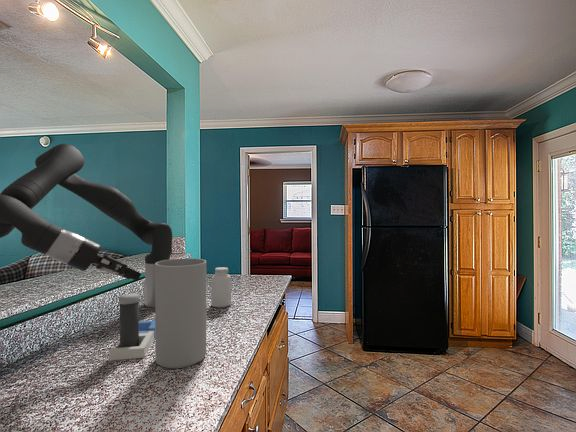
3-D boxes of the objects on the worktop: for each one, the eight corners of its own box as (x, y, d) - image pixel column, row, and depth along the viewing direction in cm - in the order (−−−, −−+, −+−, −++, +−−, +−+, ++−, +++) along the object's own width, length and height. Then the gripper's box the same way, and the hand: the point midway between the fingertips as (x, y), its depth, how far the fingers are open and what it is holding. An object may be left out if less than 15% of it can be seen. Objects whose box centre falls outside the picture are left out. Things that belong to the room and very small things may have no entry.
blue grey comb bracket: (109, 360, 79) (109, 348, 79) (132, 329, 100) (132, 319, 100) (144, 357, 81) (144, 345, 81) (160, 327, 101) (160, 318, 101)
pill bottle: (234, 303, 129) (234, 267, 129) (224, 308, 121) (224, 270, 121) (218, 301, 131) (218, 265, 131) (207, 306, 124) (207, 269, 124)
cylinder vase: (177, 375, 72) (177, 268, 72) (145, 361, 79) (144, 263, 79) (216, 354, 83) (216, 261, 83) (184, 343, 90) (184, 257, 89)
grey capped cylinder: (115, 351, 84) (115, 296, 84) (133, 345, 88) (132, 292, 88) (125, 356, 81) (125, 299, 81) (143, 349, 86) (143, 295, 85)
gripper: (62, 263, 82) (122, 287, 90) (66, 263, 71) (134, 291, 79) (79, 238, 85) (136, 264, 93) (86, 234, 74) (149, 264, 82)
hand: (135, 276), depth 86 cm, fingers open, 8 cm apart
